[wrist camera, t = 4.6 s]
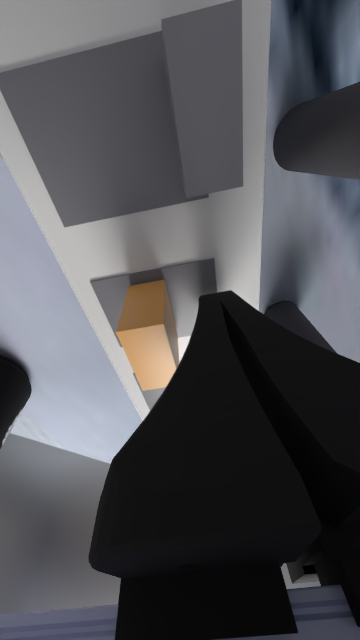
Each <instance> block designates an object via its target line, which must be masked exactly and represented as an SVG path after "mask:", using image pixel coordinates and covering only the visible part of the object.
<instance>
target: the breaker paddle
mask: <svg viewBox="0 0 360 640" xmlns="http://www.w3.org/2000/svg"><path fill="white" fill-rule="evenodd" d="M116 334H117V336H118V338H119V340H120V343H121V345H122V347H123V349H124V351H125V353H126V356H127V358H128V360H129V362H130V364H131V367H132V369H133V371H134V373H135V375H136V377H137V380H138V382H139V384H140V386H141V388H142V391H145V390H152V389H158V388H164V387H166V386H167V385H168V383H169V381H170V380H171V378H172V376H173V374H174V372H175V371H176V369H177V367H178V365H179V348H178V334H177V330H176V326H175V322H174V317H173V313H172V309H171V305H170V301H169V297H168V293H167V289H166V285H165V280H159V281H153V282H148V283H143V284H137V285H132V286H129V287H128V291H127V294H126V298H125V301H124V305H123V308H122V312H121V315H120V319H119V323H118V326H117V330H116Z"/></svg>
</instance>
